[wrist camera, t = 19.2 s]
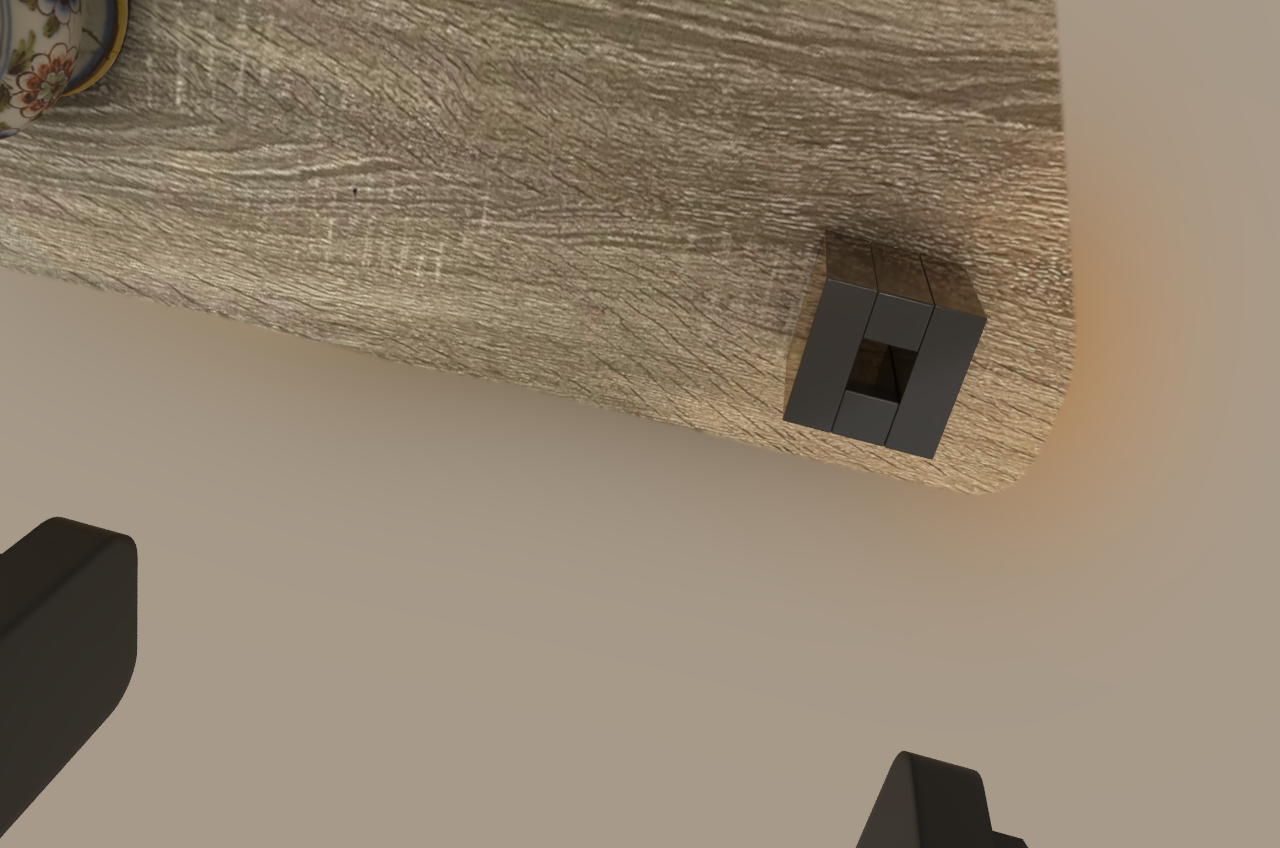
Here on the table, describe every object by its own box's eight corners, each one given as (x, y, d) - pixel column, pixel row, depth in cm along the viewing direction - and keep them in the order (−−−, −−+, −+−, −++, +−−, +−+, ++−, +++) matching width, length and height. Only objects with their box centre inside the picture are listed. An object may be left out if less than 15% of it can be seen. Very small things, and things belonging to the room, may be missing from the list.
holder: (964, 264, 46) (987, 318, 40) (917, 391, 49) (932, 460, 43) (825, 229, 47) (826, 277, 40) (786, 357, 49) (782, 420, 43)
